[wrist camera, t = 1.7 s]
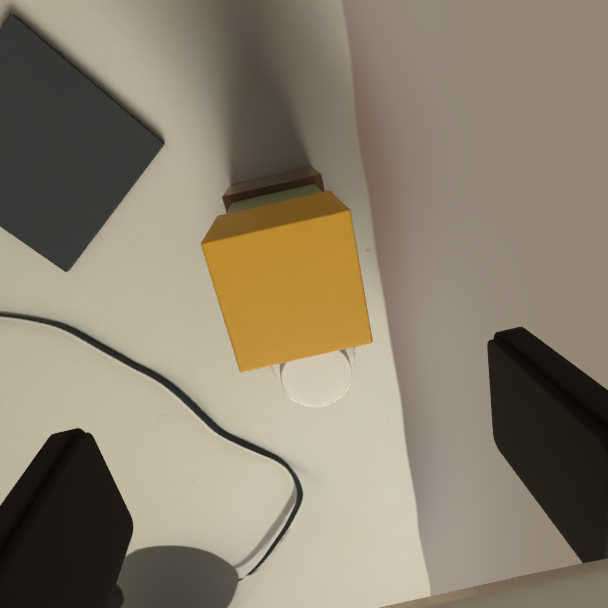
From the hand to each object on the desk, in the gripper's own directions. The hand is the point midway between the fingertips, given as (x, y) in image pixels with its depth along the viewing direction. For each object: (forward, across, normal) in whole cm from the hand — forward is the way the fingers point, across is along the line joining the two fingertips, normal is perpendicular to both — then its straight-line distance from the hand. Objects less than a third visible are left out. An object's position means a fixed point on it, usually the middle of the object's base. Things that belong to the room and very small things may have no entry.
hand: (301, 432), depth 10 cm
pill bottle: (+28, 0, +8) cm, 29 cm away
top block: (+15, 0, 0) cm, 15 cm away
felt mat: (+27, +15, -8) cm, 32 cm away
